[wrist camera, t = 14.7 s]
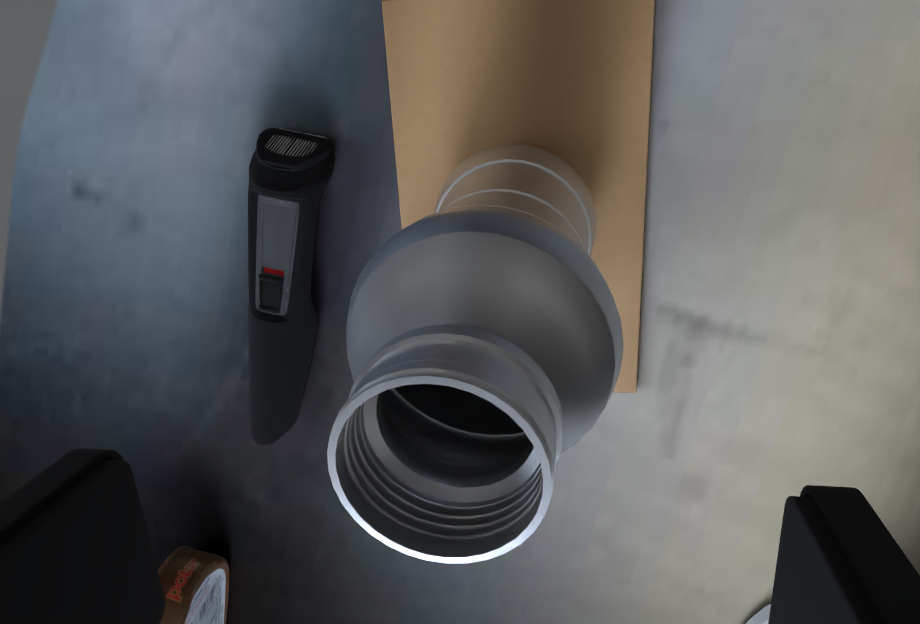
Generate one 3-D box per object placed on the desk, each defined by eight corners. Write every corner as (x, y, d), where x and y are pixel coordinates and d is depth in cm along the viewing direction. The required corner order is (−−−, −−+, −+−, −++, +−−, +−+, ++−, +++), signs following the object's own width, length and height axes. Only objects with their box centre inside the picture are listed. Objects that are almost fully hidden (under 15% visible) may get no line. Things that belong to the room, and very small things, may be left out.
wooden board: (654, -21, 25) (656, -22, 25) (635, 388, 31) (636, 393, 31) (384, 1, 27) (381, 0, 26) (417, 383, 33) (415, 388, 33)
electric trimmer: (250, 407, 36) (222, 438, 33) (264, 124, 29) (231, 131, 27) (314, 422, 35) (292, 455, 32) (342, 140, 29) (317, 149, 26)
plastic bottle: (472, 115, 27) (279, 213, 9) (619, 169, 27) (733, 382, 9) (427, 250, 30) (205, 545, 11) (562, 300, 30) (558, 682, 11)
